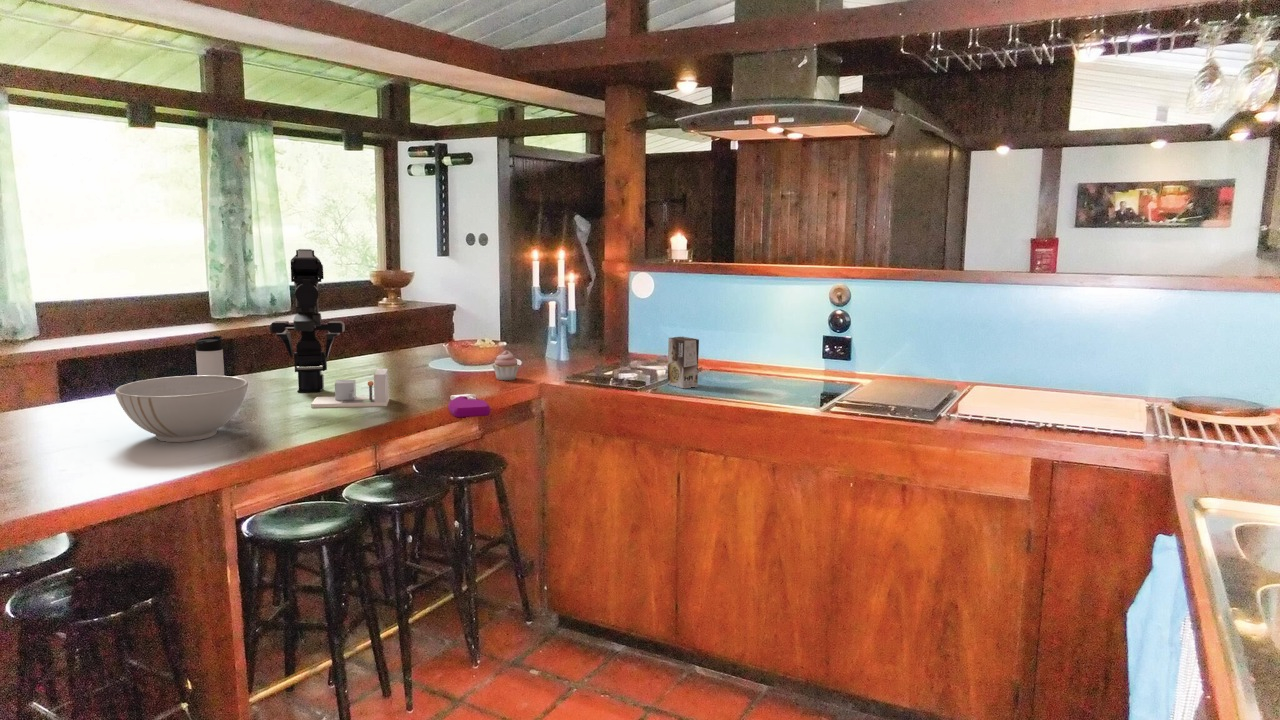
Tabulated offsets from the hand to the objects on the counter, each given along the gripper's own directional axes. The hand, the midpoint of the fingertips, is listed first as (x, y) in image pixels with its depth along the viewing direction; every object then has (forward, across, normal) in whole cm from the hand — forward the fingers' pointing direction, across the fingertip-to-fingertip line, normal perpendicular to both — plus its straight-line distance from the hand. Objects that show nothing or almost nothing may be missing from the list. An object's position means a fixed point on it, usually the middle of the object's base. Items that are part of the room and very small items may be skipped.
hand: (309, 357), depth 223 cm
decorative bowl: (+13, -22, -34) cm, 43 cm away
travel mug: (+13, -23, -8) cm, 28 cm away
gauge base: (+13, +12, -2) cm, 18 cm away
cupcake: (+13, +57, +33) cm, 67 cm away
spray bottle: (+14, +43, -11) cm, 46 cm away
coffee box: (+13, +114, +15) cm, 116 cm away
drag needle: (+12, +17, -4) cm, 21 cm away
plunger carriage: (+12, +9, -2) cm, 15 cm away
